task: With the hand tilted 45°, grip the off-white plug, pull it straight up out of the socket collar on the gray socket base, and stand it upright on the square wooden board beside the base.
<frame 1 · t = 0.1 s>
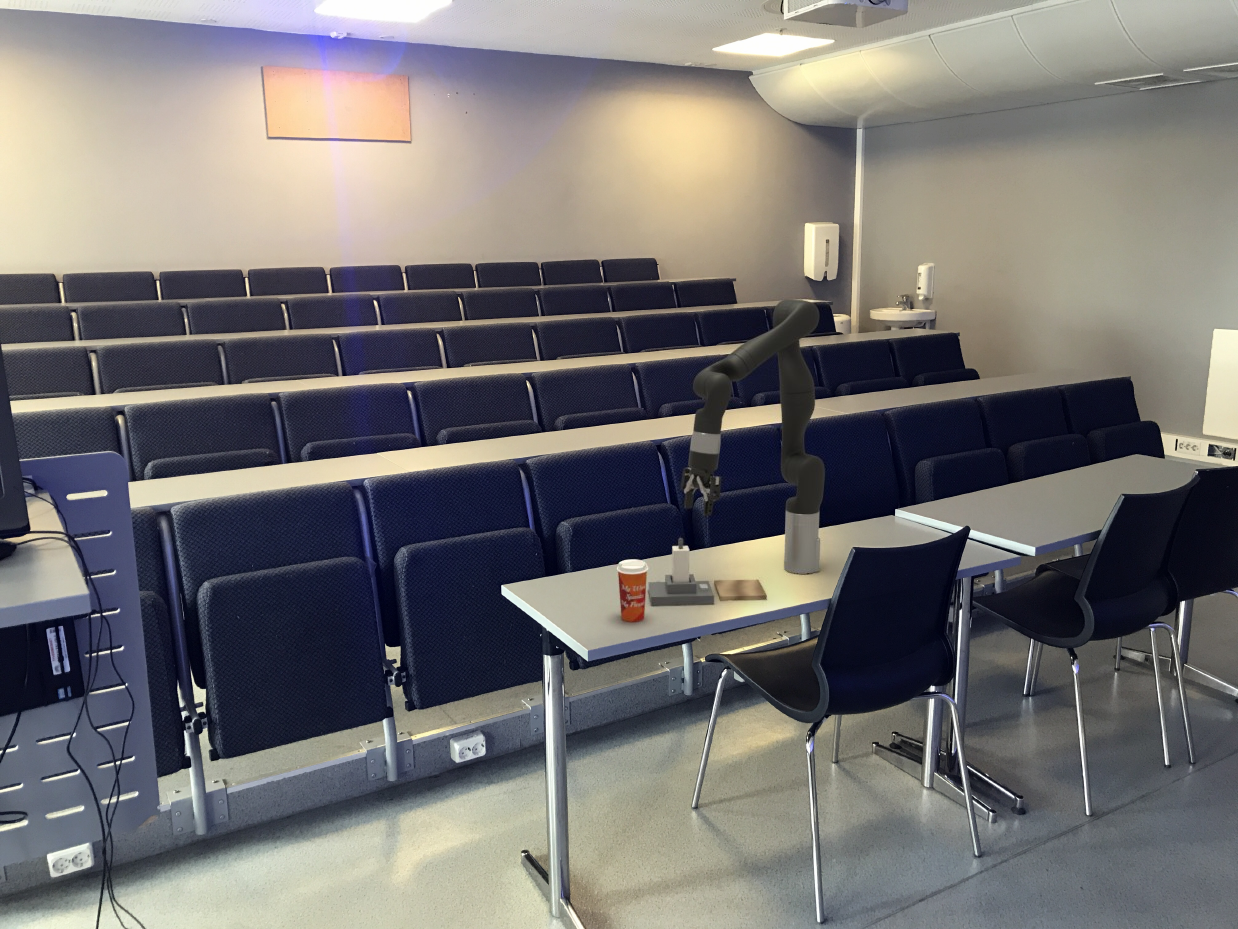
hand: (697, 511, 240), 22 cm above the table, tool pointing down, fingers open, 8 cm apart
paper cup: (633, 618, 229), on the table
plug: (680, 588, 242), point 2 cm above the table, touching gray socket base
gray socket base: (680, 597, 242), on the table
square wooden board: (739, 592, 246), on the table
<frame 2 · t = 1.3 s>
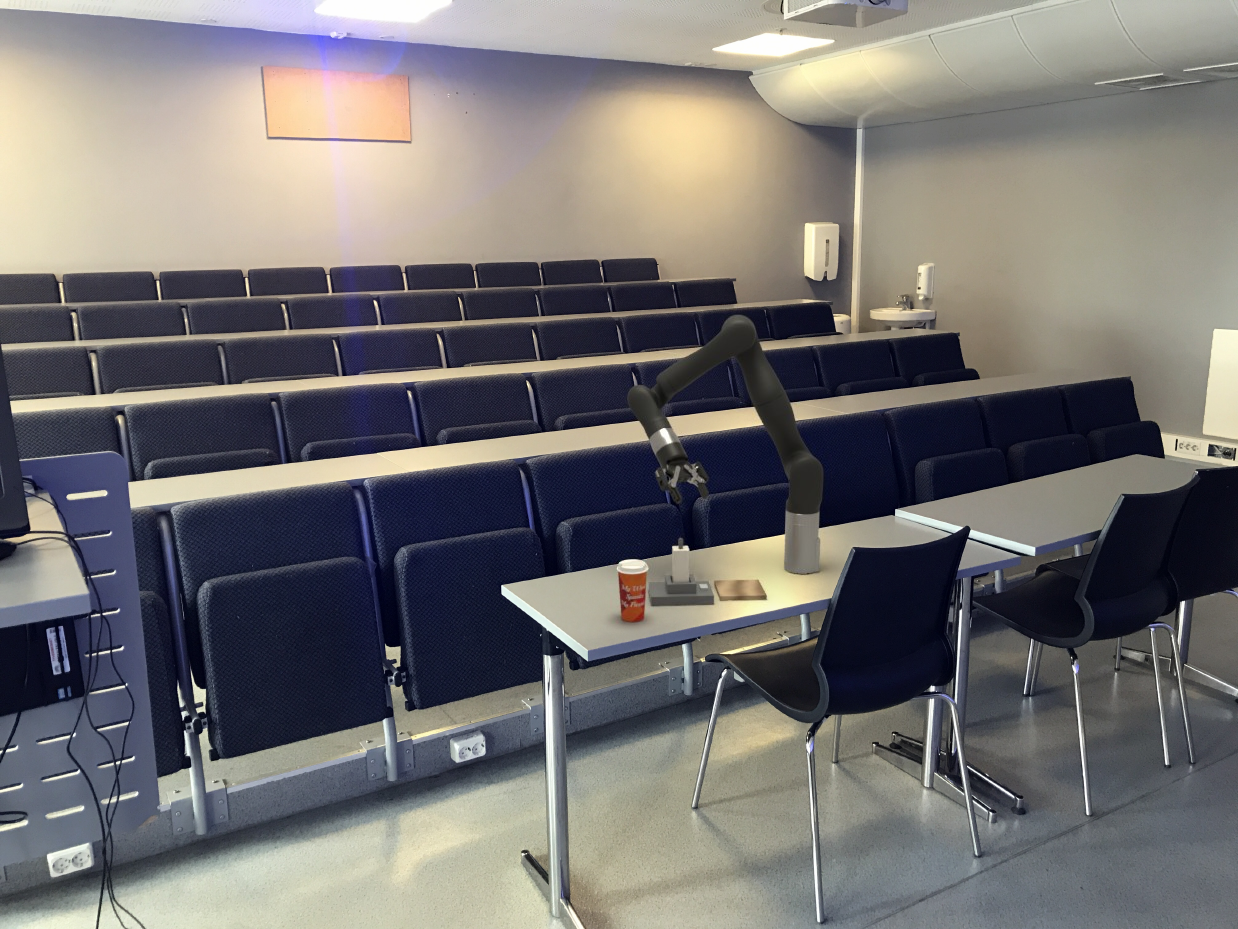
hand: (693, 499, 243), 25 cm above the table, tool tilted 45°, fingers open, 8 cm apart
nothing on the table moved.
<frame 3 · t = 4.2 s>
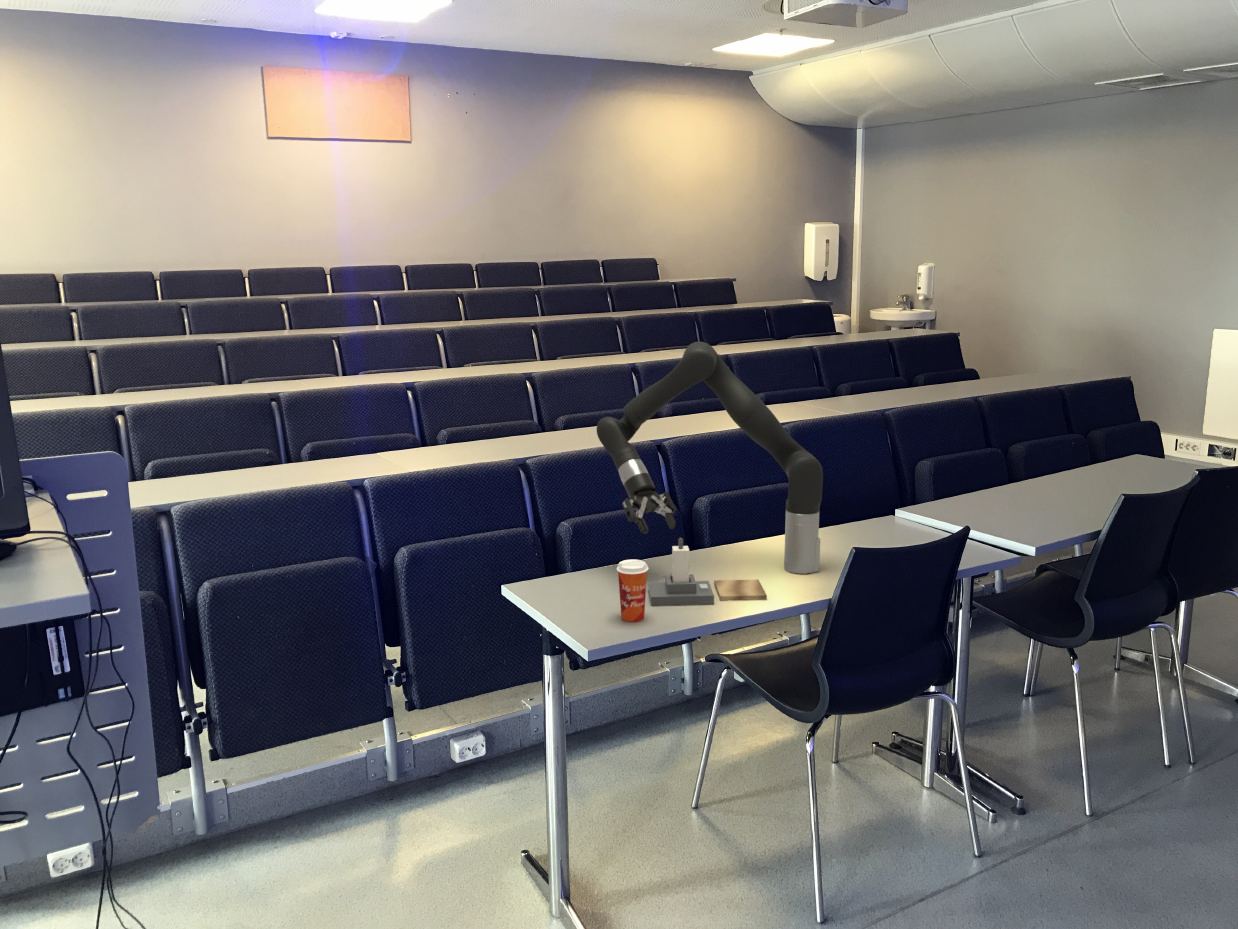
hand: (659, 530, 247), 16 cm above the table, tool tilted 45°, fingers open, 8 cm apart
nothing on the table moved.
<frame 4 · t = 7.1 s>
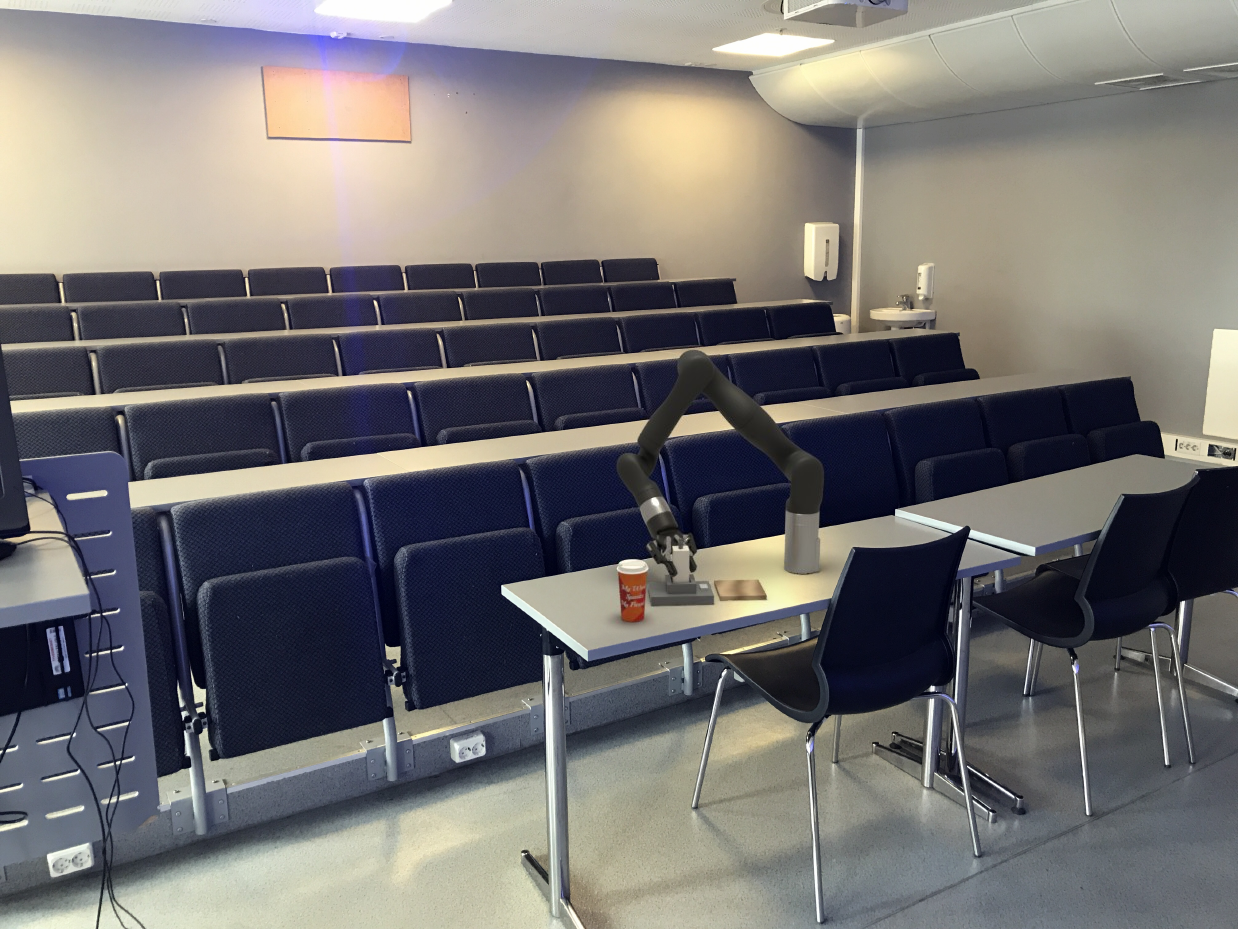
hand: (684, 573, 239), 7 cm above the table, tool tilted 45°, fingers closed on plug, 5 cm apart
plug: (680, 588, 242), point 2 cm above the table, touching gripper, gray socket base
everything else where it was.
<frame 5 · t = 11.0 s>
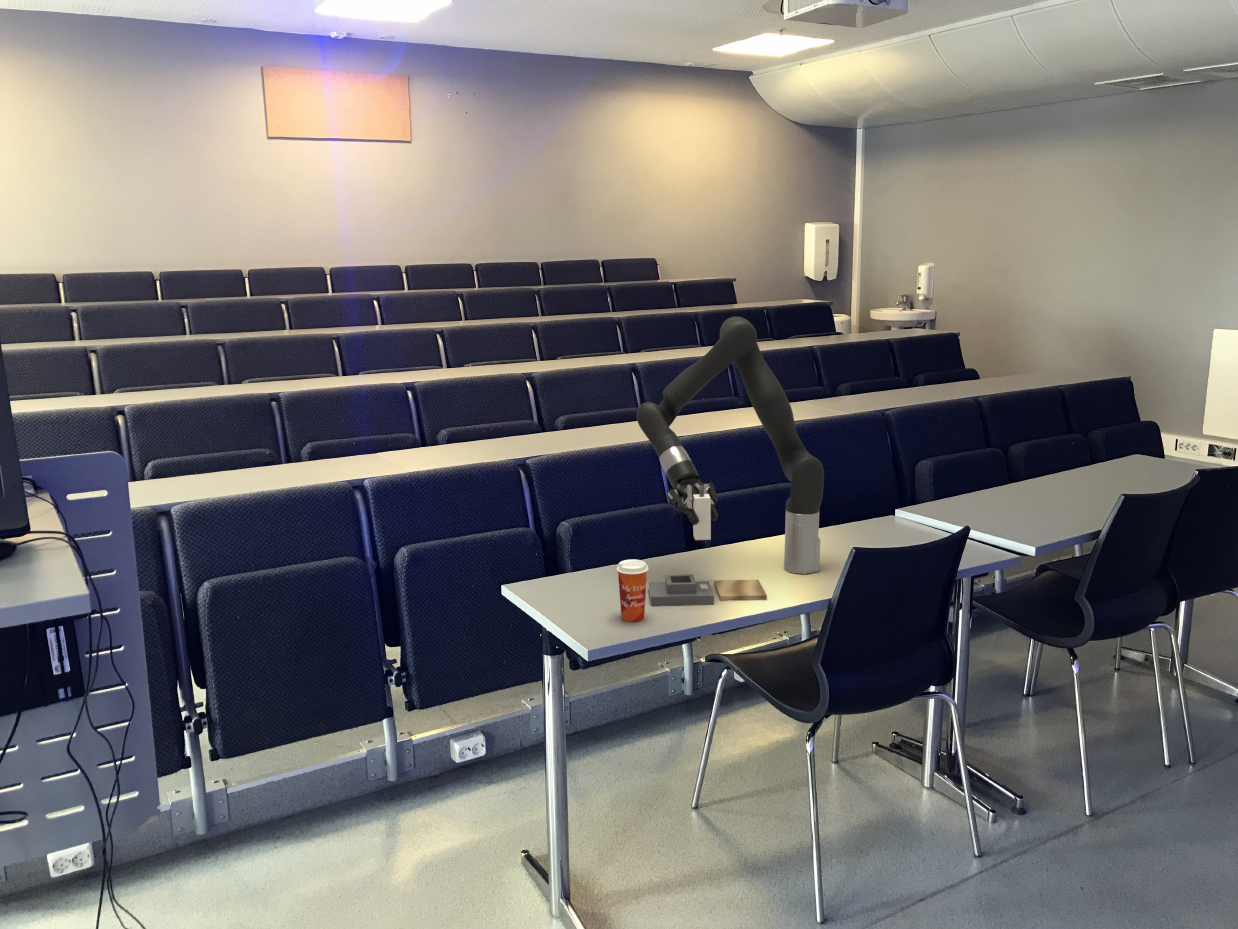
hand: (706, 521, 238), 21 cm above the table, tool tilted 45°, fingers closed on plug, 5 cm apart
plug: (701, 537, 240), point 16 cm above the table, touching gripper
everything else where it was.
when the fingers open (8 cm above the table, at t = 15.1 s): plug drops 2 cm, resting on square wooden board.
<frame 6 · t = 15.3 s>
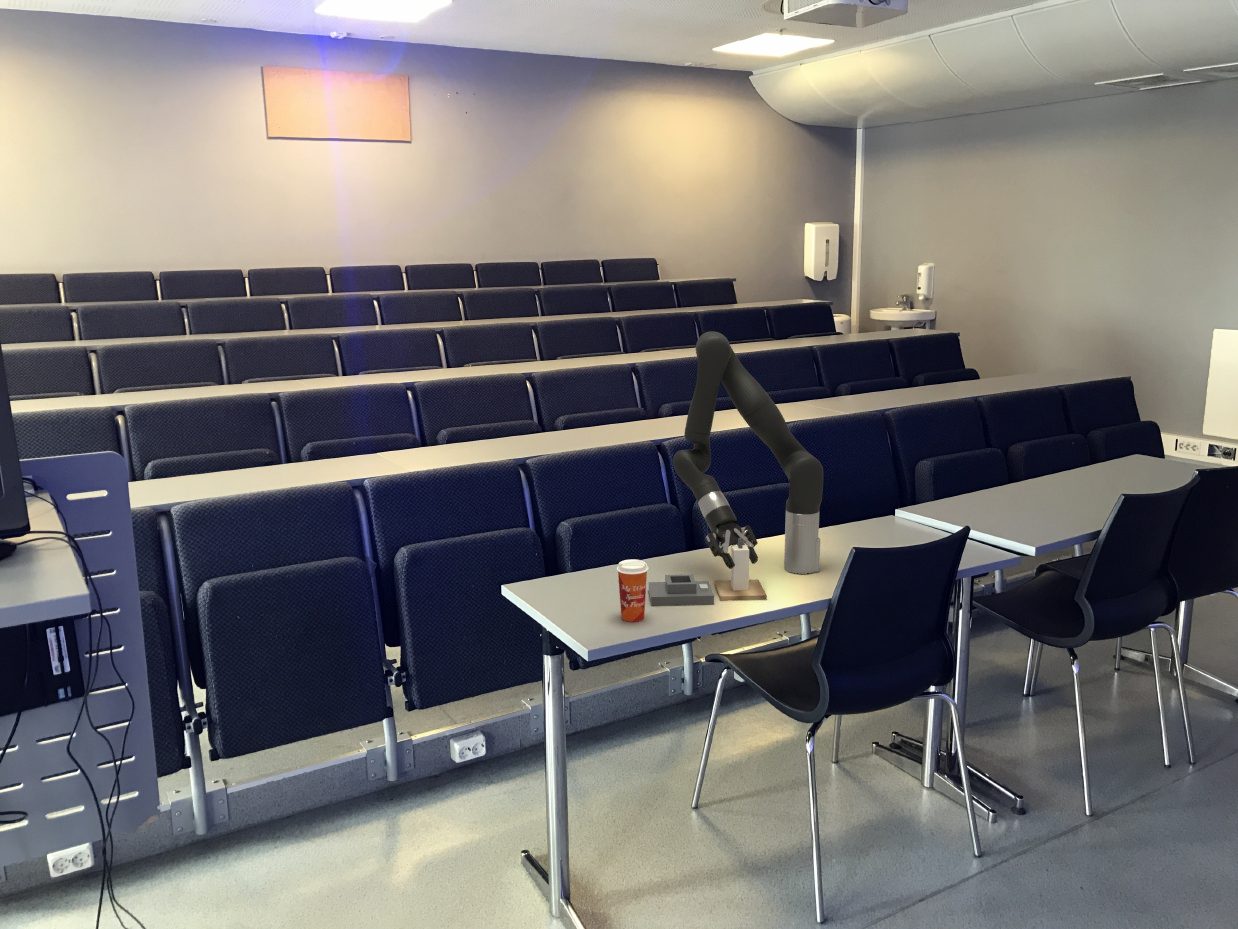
hand: (744, 564, 243), 8 cm above the table, tool tilted 45°, fingers open, 7 cm apart
plug: (739, 587, 246), point 1 cm above the table, touching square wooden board
everything else where it was.
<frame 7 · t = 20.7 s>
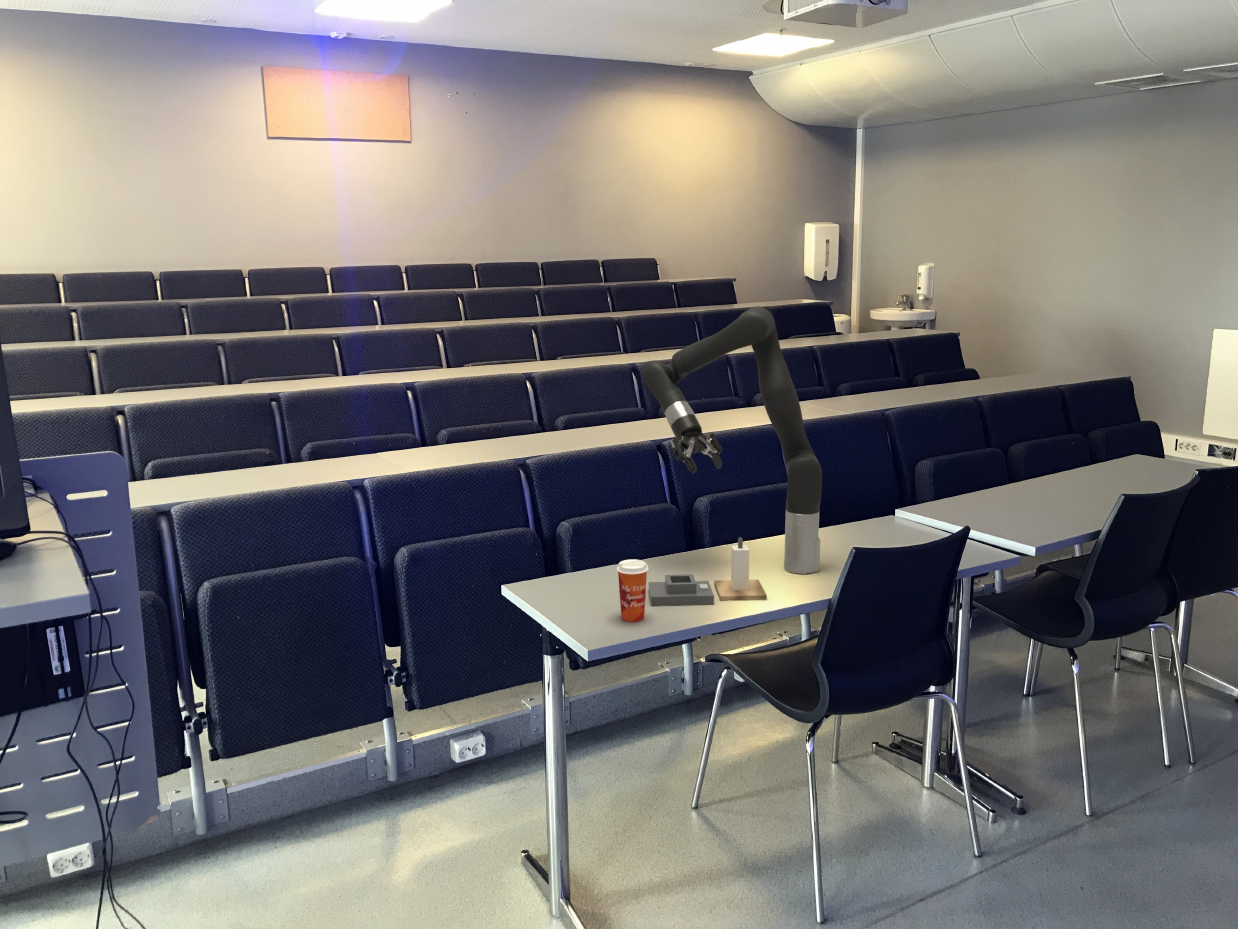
hand: (707, 469, 250), 31 cm above the table, tool tilted 45°, fingers open, 8 cm apart
nothing on the table moved.
at the end: plug inside the target area on the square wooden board (0.1 cm from its centre), point 1.2 cm above the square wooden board's base; plug tilted 0°; the gripper is holding nothing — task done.
